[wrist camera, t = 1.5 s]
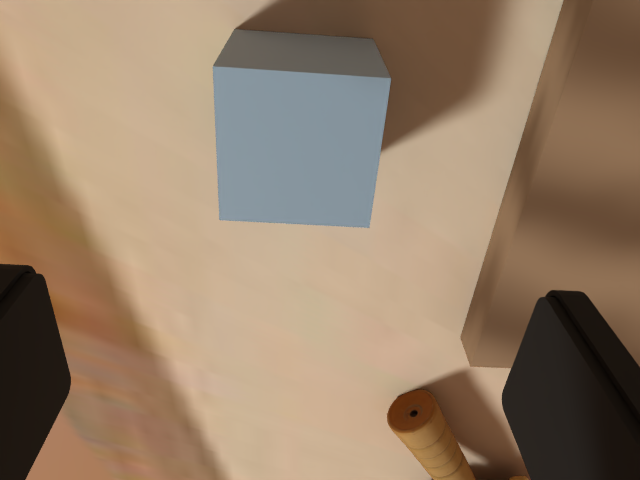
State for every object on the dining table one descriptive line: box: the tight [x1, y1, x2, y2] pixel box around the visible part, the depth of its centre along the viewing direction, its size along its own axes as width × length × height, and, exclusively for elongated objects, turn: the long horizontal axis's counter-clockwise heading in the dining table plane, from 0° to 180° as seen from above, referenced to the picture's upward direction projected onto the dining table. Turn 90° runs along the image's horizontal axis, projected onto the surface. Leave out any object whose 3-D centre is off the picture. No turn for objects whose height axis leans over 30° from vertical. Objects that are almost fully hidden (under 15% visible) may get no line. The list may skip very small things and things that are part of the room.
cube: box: [213, 29, 391, 228], centre depth 18 cm, size 5×5×5 cm
